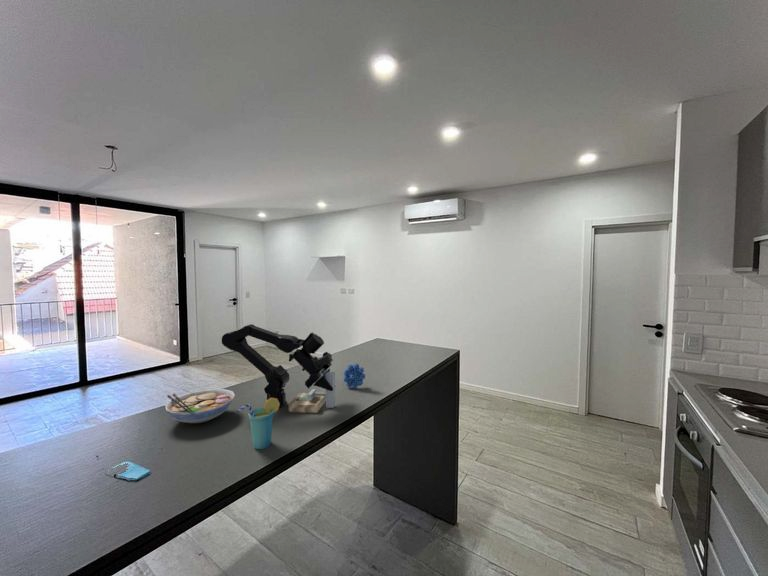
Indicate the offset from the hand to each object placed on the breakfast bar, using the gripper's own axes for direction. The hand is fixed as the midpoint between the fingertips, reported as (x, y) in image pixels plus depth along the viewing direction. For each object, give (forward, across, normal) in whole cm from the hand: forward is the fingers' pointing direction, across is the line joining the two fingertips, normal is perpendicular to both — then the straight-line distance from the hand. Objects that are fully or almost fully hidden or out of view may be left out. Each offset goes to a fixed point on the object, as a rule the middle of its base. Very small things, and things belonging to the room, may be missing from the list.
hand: (333, 388), depth 130 cm
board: (-2, 0, +13) cm, 13 cm away
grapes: (+9, +22, +2) cm, 24 cm away
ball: (-5, 0, +13) cm, 14 cm away
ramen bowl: (-27, -15, +38) cm, 50 cm away
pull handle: (+2, 0, +9) cm, 9 cm away
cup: (-6, -31, +17) cm, 36 cm away
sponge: (-26, -48, +38) cm, 66 cm away
